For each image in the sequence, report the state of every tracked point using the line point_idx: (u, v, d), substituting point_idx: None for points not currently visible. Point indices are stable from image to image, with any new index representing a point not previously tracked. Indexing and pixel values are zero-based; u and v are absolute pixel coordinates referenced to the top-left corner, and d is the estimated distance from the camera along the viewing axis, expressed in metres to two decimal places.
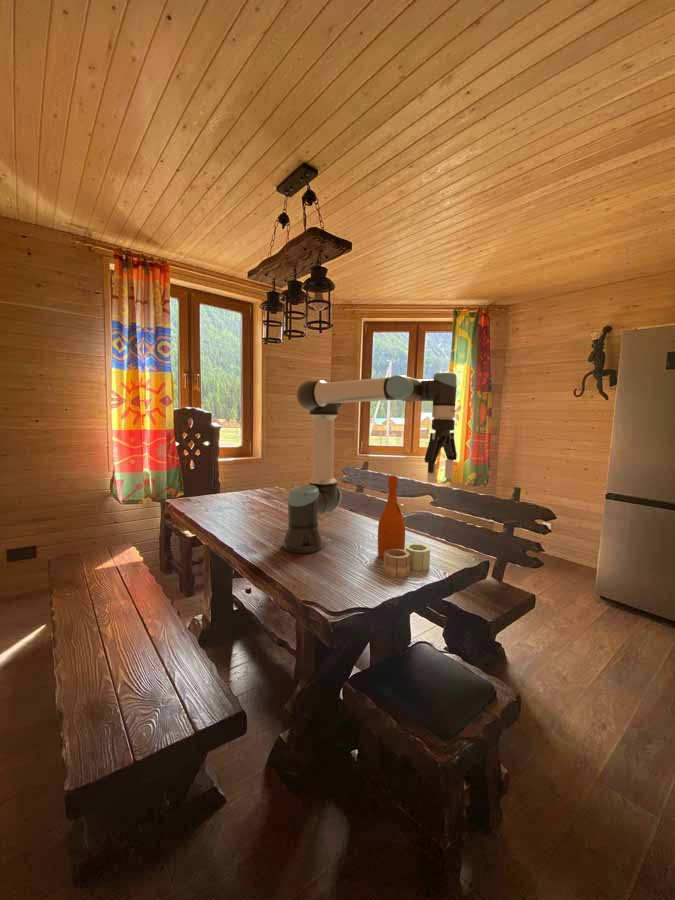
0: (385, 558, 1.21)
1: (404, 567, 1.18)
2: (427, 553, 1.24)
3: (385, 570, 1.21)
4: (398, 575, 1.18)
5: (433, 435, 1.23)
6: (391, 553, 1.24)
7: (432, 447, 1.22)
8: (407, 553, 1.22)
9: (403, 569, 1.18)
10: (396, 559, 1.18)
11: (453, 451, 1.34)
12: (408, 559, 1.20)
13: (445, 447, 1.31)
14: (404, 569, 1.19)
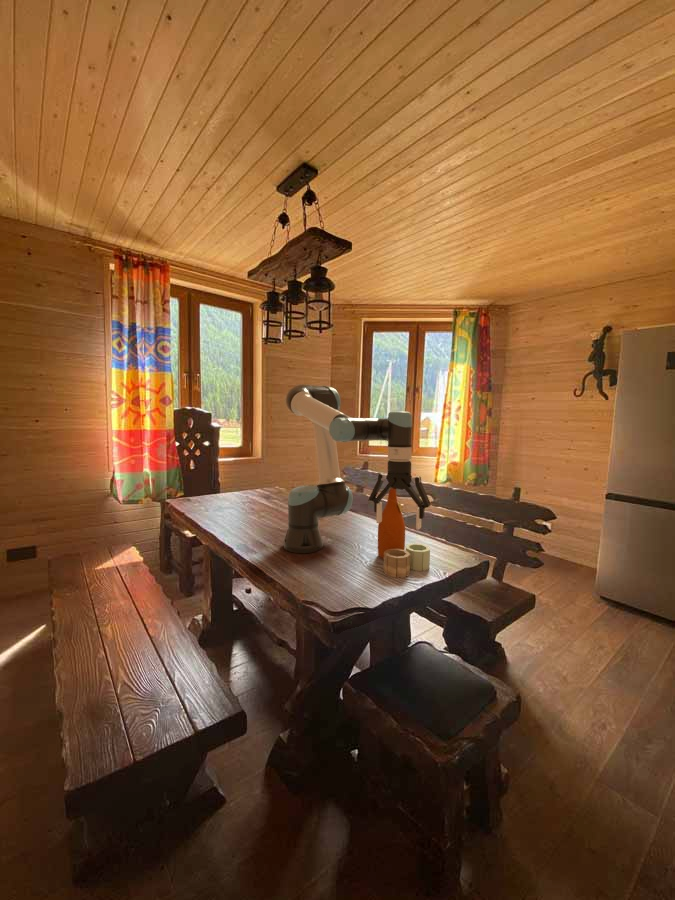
0: (385, 558, 1.21)
1: (404, 567, 1.18)
2: (427, 553, 1.24)
3: (385, 570, 1.21)
4: (398, 575, 1.18)
5: None
6: (391, 553, 1.24)
7: None
8: (407, 553, 1.22)
9: (403, 569, 1.18)
10: (396, 559, 1.18)
11: (422, 499, 1.15)
12: (408, 559, 1.20)
13: None
14: (404, 569, 1.19)
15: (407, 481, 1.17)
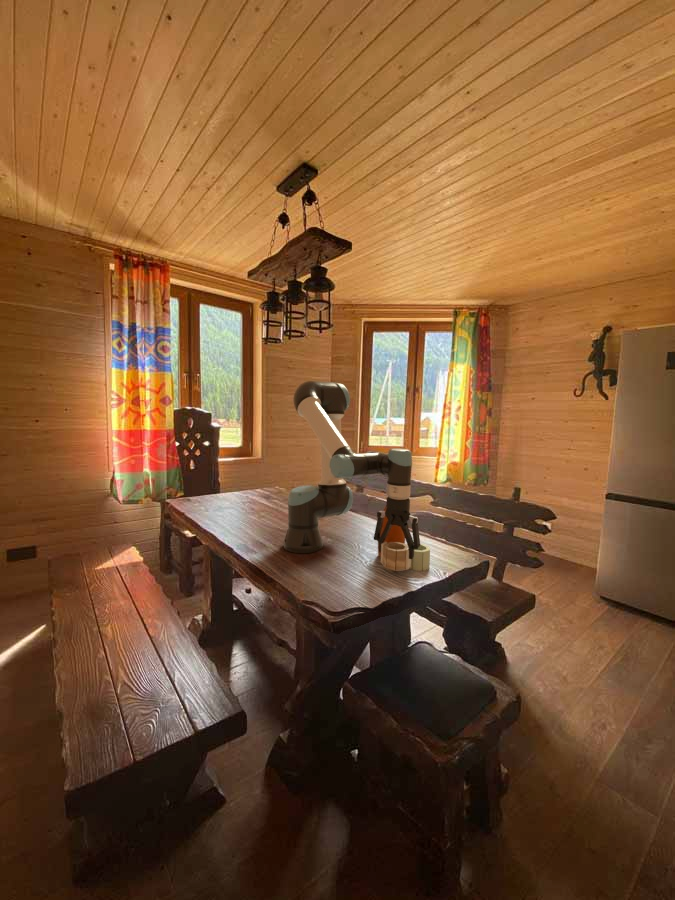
0: (384, 551, 1.21)
1: (403, 560, 1.19)
2: (427, 553, 1.24)
3: (384, 563, 1.21)
4: (397, 568, 1.18)
5: None
6: (390, 546, 1.25)
7: None
8: (406, 546, 1.22)
9: (402, 562, 1.19)
10: (396, 552, 1.18)
11: None
12: None
13: None
14: (403, 563, 1.19)
15: (405, 518, 1.18)
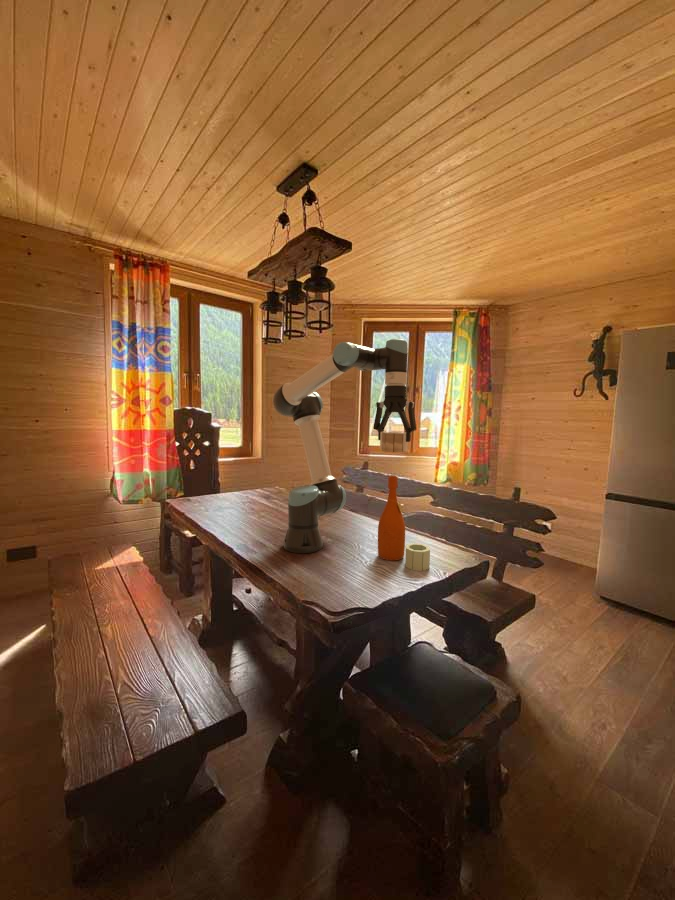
0: (383, 436, 1.30)
1: (401, 443, 1.28)
2: (427, 553, 1.24)
3: (383, 448, 1.30)
4: (395, 450, 1.28)
5: None
6: None
7: None
8: None
9: (400, 444, 1.28)
10: (393, 435, 1.27)
11: (410, 422, 1.27)
12: None
13: None
14: (400, 445, 1.28)
15: (402, 404, 1.28)
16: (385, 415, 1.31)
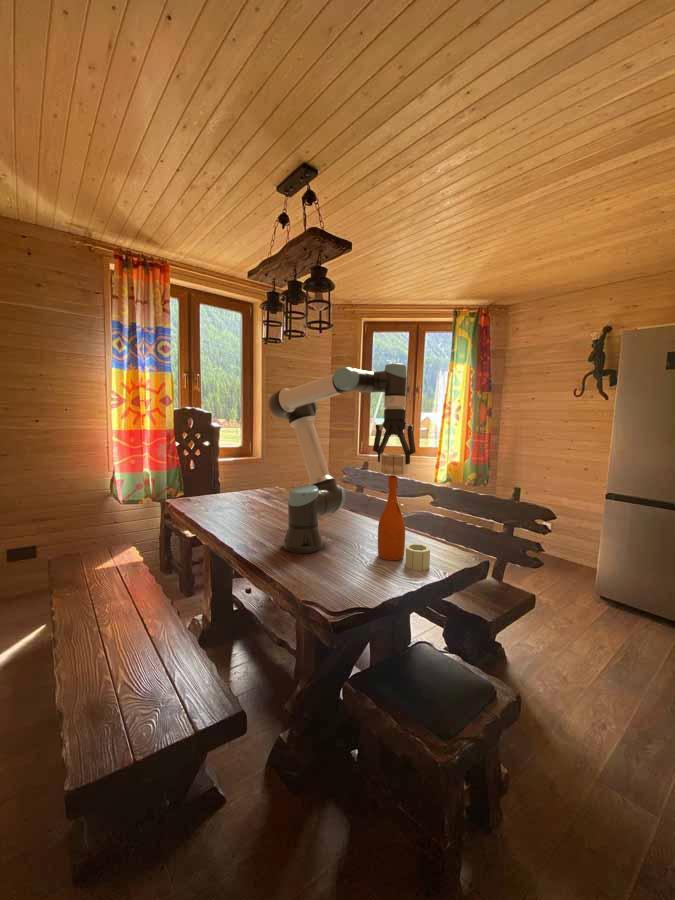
0: (383, 459, 1.32)
1: (400, 465, 1.30)
2: (427, 553, 1.24)
3: (383, 470, 1.32)
4: (395, 472, 1.29)
5: None
6: None
7: None
8: None
9: (399, 467, 1.30)
10: (393, 457, 1.29)
11: (409, 445, 1.29)
12: None
13: None
14: (400, 467, 1.30)
15: (401, 427, 1.30)
16: (384, 437, 1.33)
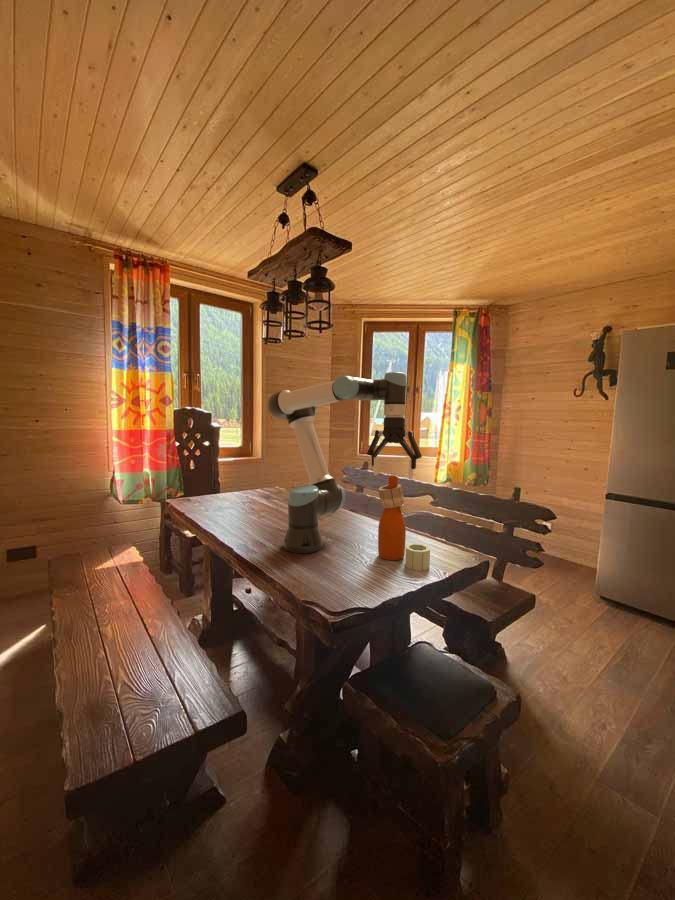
0: (380, 493, 1.32)
1: (399, 496, 1.31)
2: (427, 553, 1.24)
3: (383, 504, 1.32)
4: (395, 505, 1.30)
5: None
6: (384, 489, 1.36)
7: None
8: (398, 485, 1.34)
9: (398, 498, 1.30)
10: (390, 491, 1.30)
11: (414, 451, 1.28)
12: (401, 489, 1.32)
13: None
14: (399, 499, 1.31)
15: (401, 435, 1.30)
16: (381, 444, 1.34)
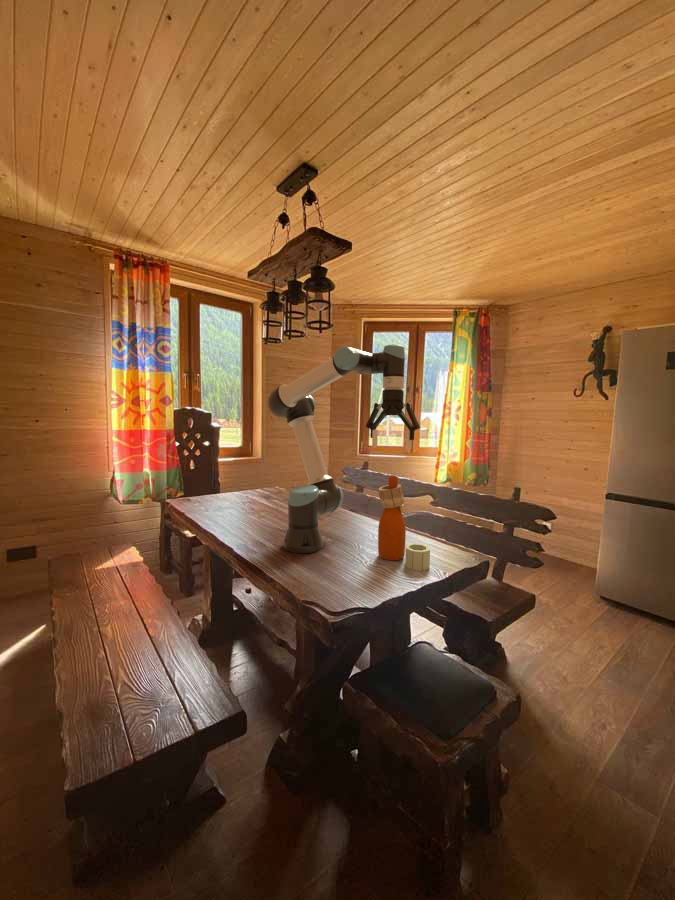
0: (380, 493, 1.32)
1: (399, 496, 1.31)
2: (427, 553, 1.24)
3: (383, 504, 1.33)
4: (395, 505, 1.30)
5: None
6: None
7: None
8: (398, 485, 1.34)
9: (398, 498, 1.31)
10: (390, 491, 1.30)
11: (412, 422, 1.30)
12: (401, 489, 1.32)
13: None
14: (399, 499, 1.31)
15: (399, 407, 1.32)
16: (380, 416, 1.36)
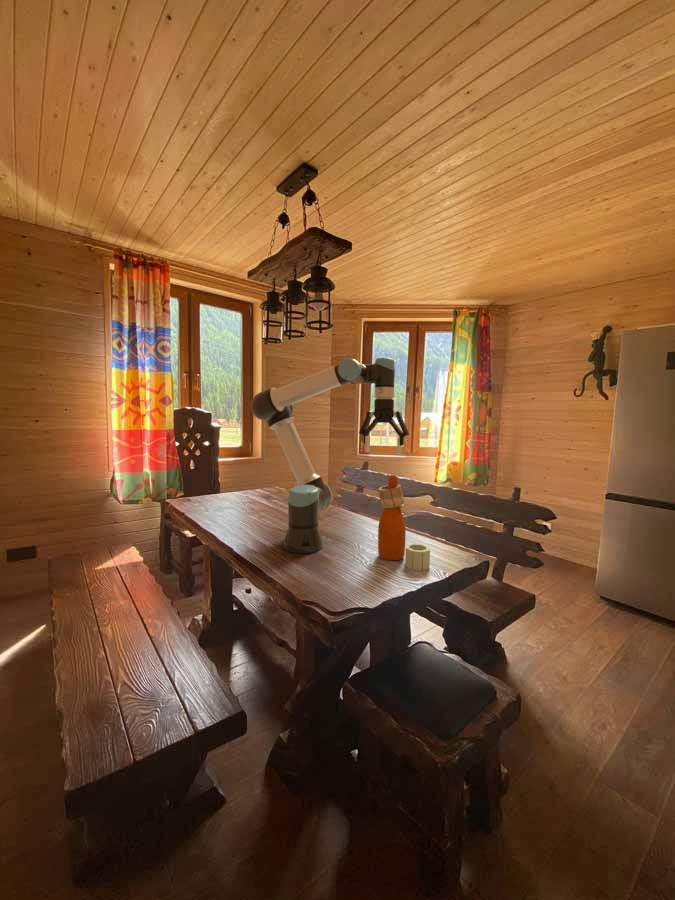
0: (380, 493, 1.33)
1: (398, 496, 1.31)
2: (427, 553, 1.24)
3: (383, 504, 1.33)
4: (395, 504, 1.30)
5: None
6: None
7: None
8: (398, 485, 1.34)
9: (398, 498, 1.31)
10: (390, 491, 1.30)
11: None
12: (400, 489, 1.32)
13: None
14: (399, 498, 1.31)
15: (390, 415, 1.43)
16: (372, 423, 1.47)
